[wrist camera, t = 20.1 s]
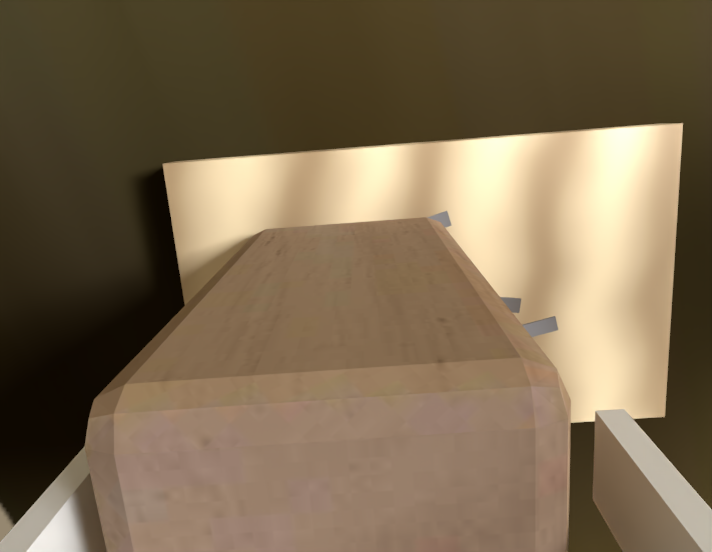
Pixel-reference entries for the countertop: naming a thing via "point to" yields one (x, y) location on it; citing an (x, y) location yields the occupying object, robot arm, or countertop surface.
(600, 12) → the countertop surface
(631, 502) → the robot arm
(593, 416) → the board
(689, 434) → the countertop surface
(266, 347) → the block
